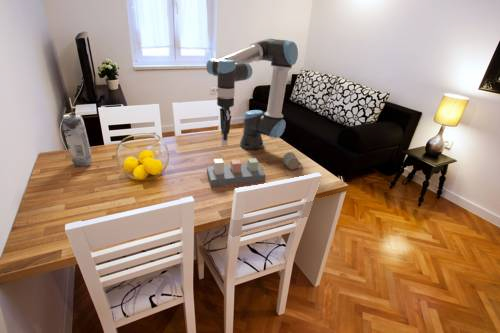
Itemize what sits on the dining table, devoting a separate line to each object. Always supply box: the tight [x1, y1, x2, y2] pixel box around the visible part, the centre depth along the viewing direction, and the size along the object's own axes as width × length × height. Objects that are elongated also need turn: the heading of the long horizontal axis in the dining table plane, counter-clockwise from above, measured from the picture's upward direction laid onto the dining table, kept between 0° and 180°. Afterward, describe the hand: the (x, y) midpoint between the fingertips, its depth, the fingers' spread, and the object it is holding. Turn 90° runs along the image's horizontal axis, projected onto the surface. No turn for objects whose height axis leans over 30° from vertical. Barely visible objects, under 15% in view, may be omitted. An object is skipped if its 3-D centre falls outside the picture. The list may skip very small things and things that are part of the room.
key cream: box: [213, 158, 225, 175], centre depth 140 cm, size 4×4×7 cm
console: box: [206, 162, 266, 188], centre depth 145 cm, size 14×28×4 cm, turn 106°
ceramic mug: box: [282, 151, 303, 170], centre depth 158 cm, size 11×8×8 cm
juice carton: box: [61, 113, 92, 168], centre depth 143 cm, size 9×10×27 cm
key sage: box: [247, 157, 259, 172], centre depth 145 cm, size 4×4×7 cm
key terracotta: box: [230, 159, 242, 174], centre depth 143 cm, size 4×4×7 cm
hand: (224, 145), depth 135 cm, fingers closed
